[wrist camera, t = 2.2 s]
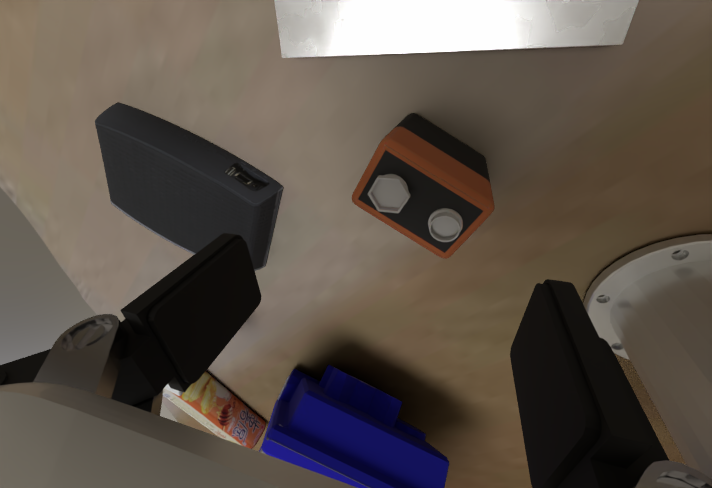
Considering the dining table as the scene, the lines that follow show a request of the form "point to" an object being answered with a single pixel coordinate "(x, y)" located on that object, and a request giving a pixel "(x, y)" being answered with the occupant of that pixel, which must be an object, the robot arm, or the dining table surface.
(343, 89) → the dining table surface
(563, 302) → the robot arm
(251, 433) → the snack package
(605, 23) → the plate
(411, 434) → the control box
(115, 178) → the external hard drive
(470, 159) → the battery
